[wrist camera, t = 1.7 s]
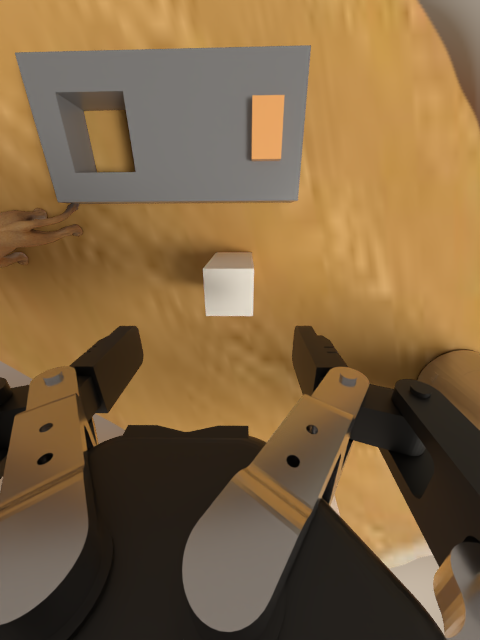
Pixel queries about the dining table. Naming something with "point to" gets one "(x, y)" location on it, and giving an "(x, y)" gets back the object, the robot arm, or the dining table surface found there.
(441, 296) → the dining table surface
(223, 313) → the white rectangular block
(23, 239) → the lion figurine
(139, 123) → the grey board with slot
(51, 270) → the dining table surface
